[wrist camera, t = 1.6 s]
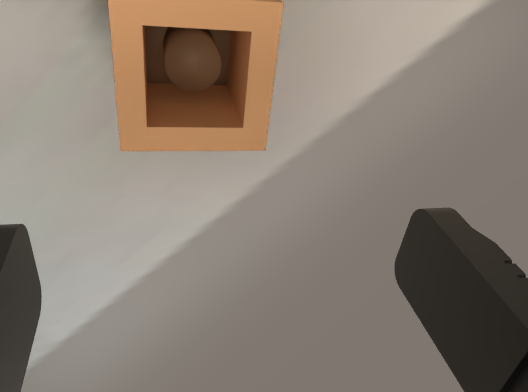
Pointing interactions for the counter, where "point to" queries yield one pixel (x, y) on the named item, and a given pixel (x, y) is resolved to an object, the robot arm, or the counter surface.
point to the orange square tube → (204, 101)
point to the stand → (187, 56)
